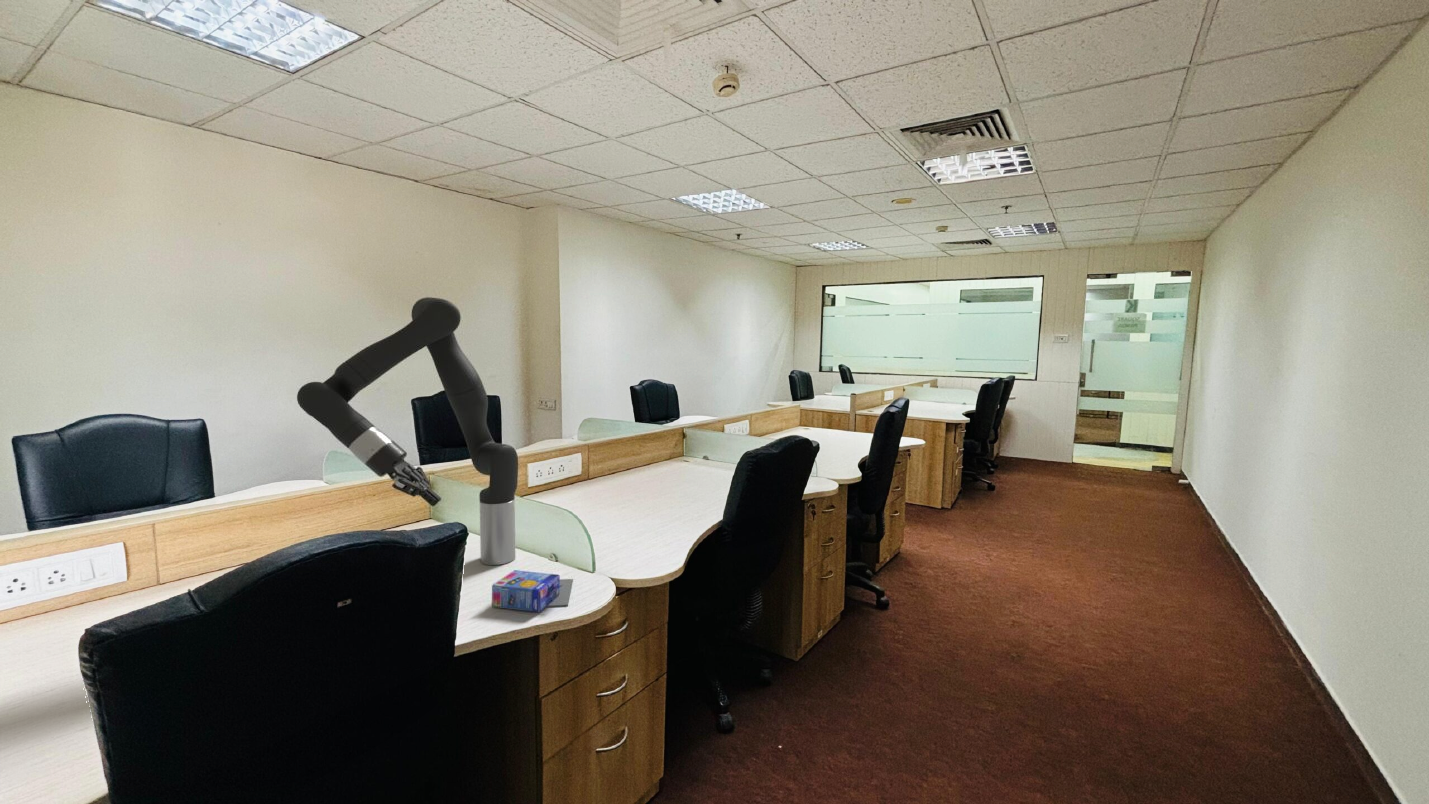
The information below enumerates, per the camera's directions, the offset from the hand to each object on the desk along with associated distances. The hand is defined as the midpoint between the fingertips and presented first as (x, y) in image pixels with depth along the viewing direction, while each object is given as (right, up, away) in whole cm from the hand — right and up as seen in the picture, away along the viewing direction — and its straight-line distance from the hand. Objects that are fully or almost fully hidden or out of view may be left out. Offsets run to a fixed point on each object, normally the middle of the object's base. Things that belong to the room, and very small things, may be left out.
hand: (437, 502), depth 130 cm
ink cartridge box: (+14, -21, +3) cm, 25 cm away
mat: (+23, -24, +7) cm, 33 cm away
